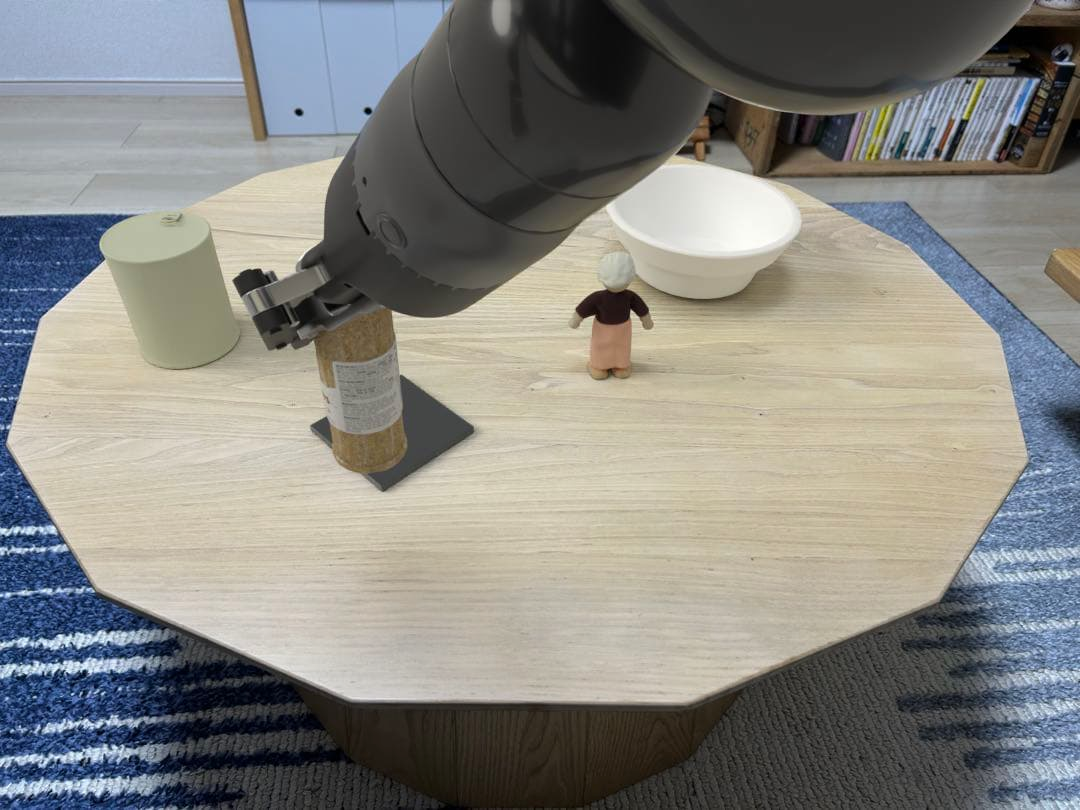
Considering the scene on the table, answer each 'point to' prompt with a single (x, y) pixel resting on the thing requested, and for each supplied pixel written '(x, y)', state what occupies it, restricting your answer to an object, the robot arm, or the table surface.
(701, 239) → the bowl
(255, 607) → the table surface
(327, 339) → the sprinkles bottle
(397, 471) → the slate coaster
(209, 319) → the can
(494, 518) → the table surface
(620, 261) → the grandmother figurine
